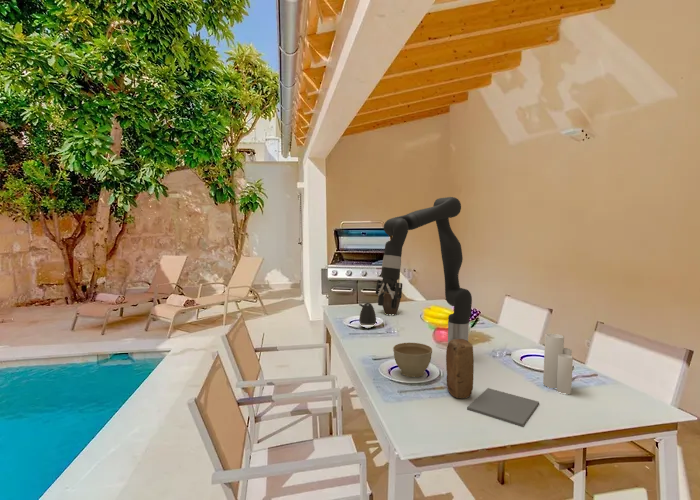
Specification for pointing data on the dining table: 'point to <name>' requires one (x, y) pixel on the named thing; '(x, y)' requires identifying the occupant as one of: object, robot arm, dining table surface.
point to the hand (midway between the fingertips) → (386, 307)
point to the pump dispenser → (367, 314)
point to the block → (460, 368)
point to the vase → (557, 364)
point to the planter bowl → (412, 358)
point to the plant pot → (387, 304)
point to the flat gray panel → (504, 406)
